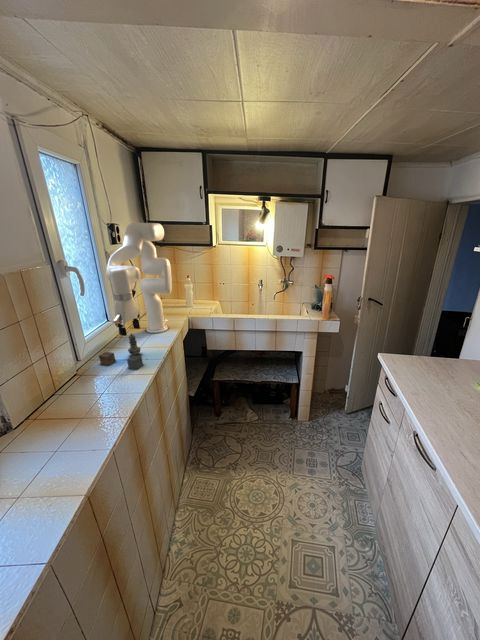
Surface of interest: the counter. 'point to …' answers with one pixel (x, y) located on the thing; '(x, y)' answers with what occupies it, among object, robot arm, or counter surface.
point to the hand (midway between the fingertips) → (130, 331)
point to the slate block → (135, 362)
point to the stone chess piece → (133, 346)
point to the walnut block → (107, 358)
